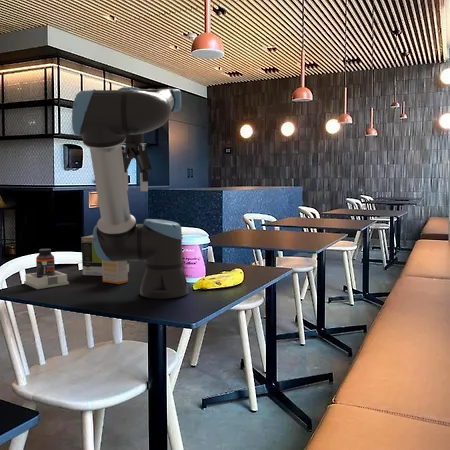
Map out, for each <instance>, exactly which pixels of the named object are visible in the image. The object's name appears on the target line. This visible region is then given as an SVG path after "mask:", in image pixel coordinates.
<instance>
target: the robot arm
mask: <svg viewBox="0 0 450 450" xmlns="http://www.w3.org/2000/svg"><path fill="white" fill-rule="evenodd" d="M181 110H182V93H181V90H180V89H179V88H178V89H177V88H157V89H156V88H147V89H146V88H139V87H135V86H133V87H132V86H130V87H129V86H128V87H127V86H123V87H120V88H118V89H94V88H93V89H90V90H81V91H79V92H78V93H76V95H75V97H74V99H73V104H72V111H71V126H72V131H73V133H74V135H76V136H78V137H80V136H81V138H82V139H81V140H82V143H83V145H84V146H85V147H87V148H89V152H90V159H91V164H92V171H93V176H94V183H95V188H96V189H95V190H96V195H97V202H98V207H99V212H100V218H99V219H98V221H97V222H96V225H95V226H94V228H93V231H92V235H93V240H94V242H93V244H94V249H95V252H96V254H97V256H98V257H99V258H100V259H101V260H103V261H111V262H116V261H129V262H144V263H145V265H144V266H145V269H144V270H145V271H144V274H143V277H142V280H141V284H140V288H139V291H140V293H139V294H140V296H142V297H144V298H147V299H158V300H163V299H164V300H167V299H174V298H175V299H177V298H180V297H181V298H182V297H184V296H187V295H188V294H189V284H188V281H187V277H186V275H185V271H184V267H183V232H182V226H181V224H180V223H178V222H175V221H171V220H166V219H157V218H154V219H153V218H146V219H144V220H143V223H137V220H136V217H135V216H134V215H132V214H131V211H130V205H129V196H128V191H129V172H128V169H129V167H130V164H131V162H132V160H133V159H135V161H136V163H137V165H138V168H139V169H140V171H139V186H140V187H139V188H140V191H139V192H149V172H150V171H151V172H152V170H153V168H152V165H151V161H150V158H149V154H148V150H147V144H143V143H144V134H147V133H149V132H153V131H154V130H156V129H158V128H161V127H162V126H164V125H165V124H166V123H167V122H168V120H169V119H170V116H171V113H175V112H180V111H181ZM123 144H125V145H123Z"/></svg>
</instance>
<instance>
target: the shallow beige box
mask: <svg viewBox="0 0 450 450" xmlns="http://www.w3.org/2000/svg"><path fill="white" fill-rule="evenodd" d="M24 278H25V280H24V281H23V283H24V284H25V285H26V286H29V287H31V288H34V289H36V290H41V289H46V288H53V287H59V286H65V285H70V282H69V281H68V274H67V273H63V272H61V271H57V270H55V276H49V277H42V278H37V272H33V273H26V274H25V276H24Z"/></svg>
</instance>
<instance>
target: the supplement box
mask: <svg viewBox="0 0 450 450" xmlns="http://www.w3.org/2000/svg"><path fill="white" fill-rule="evenodd" d="M128 273H129V272H128V271H127V261H116V262H111V261H103V260H102V275H103V276H102V283H110V284H116V285H122V284H125V283H128V282H129V276H128V275H129V274H128Z"/></svg>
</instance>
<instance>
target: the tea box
mask: <svg viewBox="0 0 450 450" xmlns="http://www.w3.org/2000/svg"><path fill="white" fill-rule="evenodd" d="M80 239H81V242H80V243H81V264H82V275H83V276H102V277H103V275H102V260H101V259H100V258H99V257H98V256H97V254H96V252H95V249H94V244H93V242H94V240H93V234H91V235H87V236H82V237H81V238H80ZM127 271H128V273H129V272H130V261H127Z"/></svg>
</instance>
